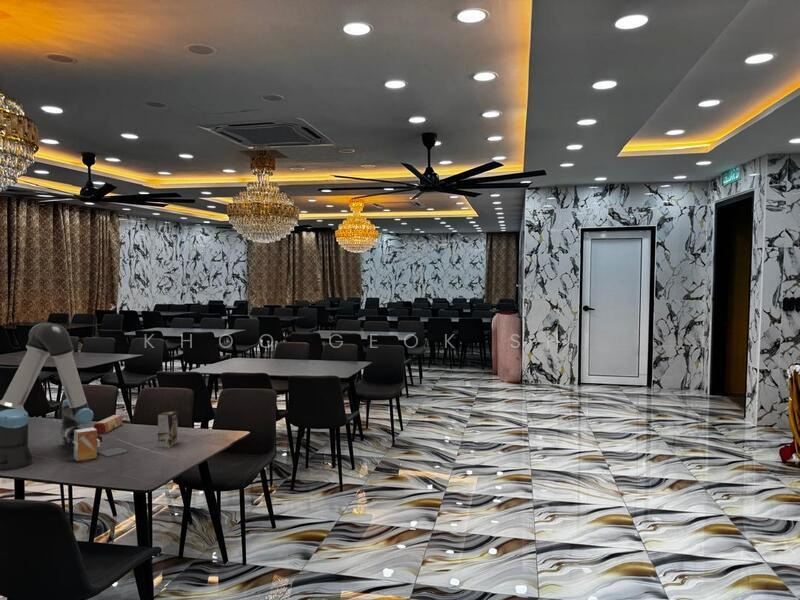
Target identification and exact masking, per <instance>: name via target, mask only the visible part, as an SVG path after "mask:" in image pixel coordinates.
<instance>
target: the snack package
mask: <svg viewBox="0 0 800 600" xmlns="http://www.w3.org/2000/svg"><path fill="white" fill-rule="evenodd" d="M120 425H121V426H123V415H121V414H113V415H111V416H109V417H106V418H104V419H101V420H99V421H97V422H95V423H94V424H93V428H95V429H96V430H97V435H105V434H107V433H109V432H110V431H112V430H114V429H116V428H119V427H120Z"/></svg>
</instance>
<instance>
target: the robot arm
mask: <svg viewBox="0 0 800 600" xmlns="http://www.w3.org/2000/svg"><path fill="white" fill-rule="evenodd" d="M25 348H26V350H27V351H26V352H25V355H24V356H23V359H22V360H21V362H20V365H19V366H18V369H17V370H16V372H15V374H14V376H13V378H12V380H11V382H10V384H9V386H8V387H7V389H6V390H5V393H4V395H3V397H2V399H1V400H0V471H4V470H5V471H7V470H16V469H19V468H24V467H27V466H29V465H31V464H33V463H34V456H33V454H32V451H31V449H30V446H29V420H30V418H29V413H28V411H27V410H25V408H24V404H25V402H26V401H27V398H28V396H29V395H30V392H31V390H32V389H33V386H34V384H35V382H36V380H37V378H38V376H39V375H40V373H41V370H42V368H43V366H44V364H45V362H46V361H47V359H48V357H50V358H53V361H54V363H55V367H56V369H57V372H58V376H59V378H60V382H61V385H62V388H63V391H64V394H65V397H66V398H65V399H64V400H63V401H62V404H61V406H62V407H61V418H62V419H61V426H60V428H59V430H60V431H59V432H60V434H61V435H62V444H63V446H64V448H68V447H69V450H70V449H73V450H74V449H75V450H78V443H76V442H75V441H74V430H79V429H83V427H81V426H80V425H85V424H86V425H87V424H89V423H90V422H91V421H92V420H93V419H94V412H93V410H92V409H91V408H90V407H89V404H88V401H87V397H86V395H85V392H84V389H83V385H82V382H81V378H80V375H79V372H78V368H77V365H76V361H75V358H74V355H73V352H74V351H75V350H74V346H73V343H72V340H71V337H70V334H69V332H68V331H67V329H66V328H65V326H62V325H60V324H58V323H52V322H41V323H38V324H36V325H34V326H33V327H32V328H31V329H30V330H29V332H28V341H27V343H26V344H25ZM101 443H103V436H102V435H101V434H97V448H99V447H100V446H101Z"/></svg>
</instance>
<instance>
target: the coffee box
mask: <svg viewBox="0 0 800 600" xmlns="http://www.w3.org/2000/svg"><path fill="white" fill-rule="evenodd" d="M177 443H178V411H176V410H175V411H164V412H162V413H160V414H158V415H157V448H167V449H169V448H172V447H173V446H174V445H176V444H177Z"/></svg>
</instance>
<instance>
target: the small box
mask: <svg viewBox="0 0 800 600" xmlns="http://www.w3.org/2000/svg"><path fill="white" fill-rule="evenodd" d="M97 435H98V434H97V430H96V429H95V428H94V426H93V427H85V428H82V429H79V430H74V441H75V442H76V443H78V450H75V449H74V448H73V459H74V460H76V461H77V462H80V461H83V460H86V459H92V460H93V459H97V456H98V455H97V454H98V453H97V452H98V446H97Z"/></svg>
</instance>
